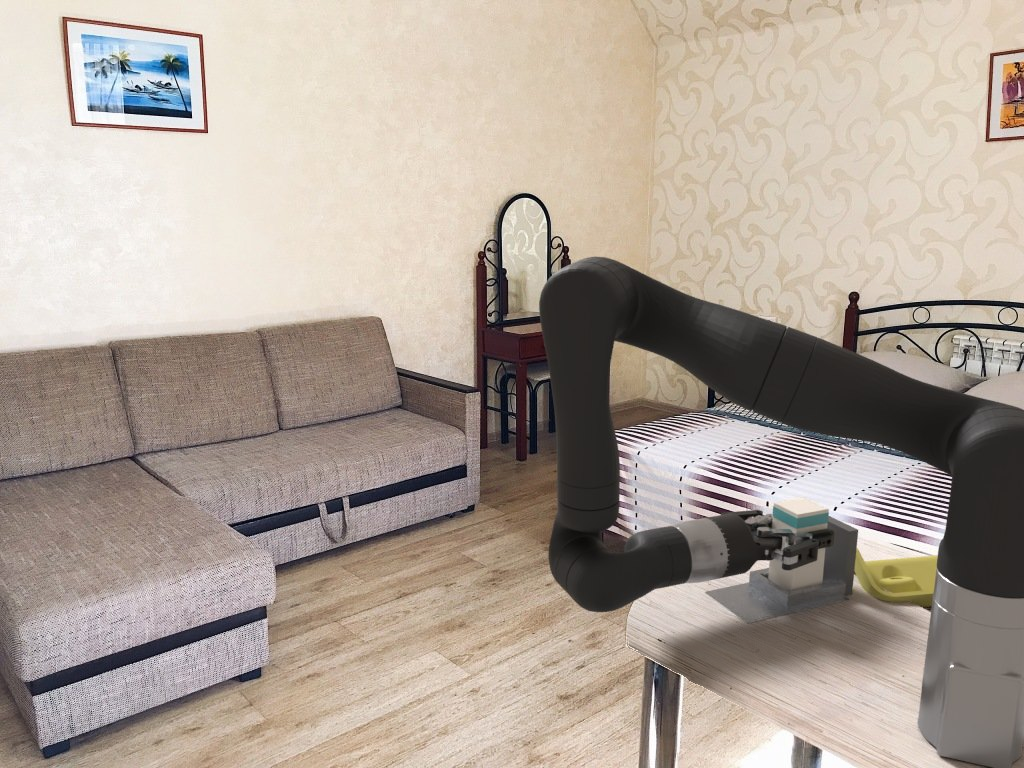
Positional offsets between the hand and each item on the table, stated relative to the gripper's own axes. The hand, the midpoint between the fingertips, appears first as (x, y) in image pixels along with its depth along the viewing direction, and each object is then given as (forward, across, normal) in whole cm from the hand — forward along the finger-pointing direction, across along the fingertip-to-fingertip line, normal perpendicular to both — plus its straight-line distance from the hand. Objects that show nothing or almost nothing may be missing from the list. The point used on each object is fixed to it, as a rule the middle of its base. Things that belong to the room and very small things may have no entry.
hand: (814, 528), depth 111 cm
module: (-3, 0, +8) cm, 9 cm away
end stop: (+3, 0, +10) cm, 11 cm away
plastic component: (+16, -5, +10) cm, 20 cm away
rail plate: (-6, 0, +10) cm, 11 cm away
